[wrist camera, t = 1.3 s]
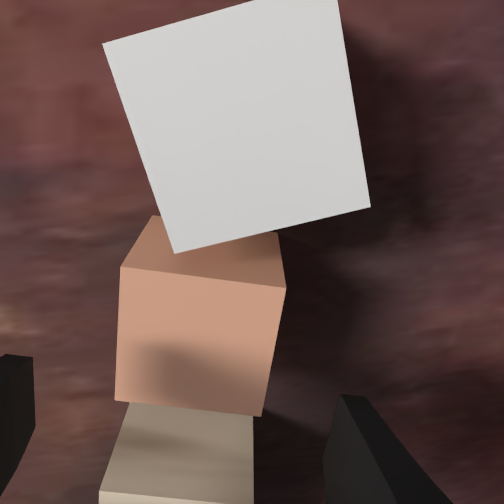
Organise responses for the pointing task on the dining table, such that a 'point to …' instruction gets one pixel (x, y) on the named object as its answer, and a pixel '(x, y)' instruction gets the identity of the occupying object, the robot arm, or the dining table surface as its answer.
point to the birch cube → (180, 458)
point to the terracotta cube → (199, 322)
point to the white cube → (244, 119)
